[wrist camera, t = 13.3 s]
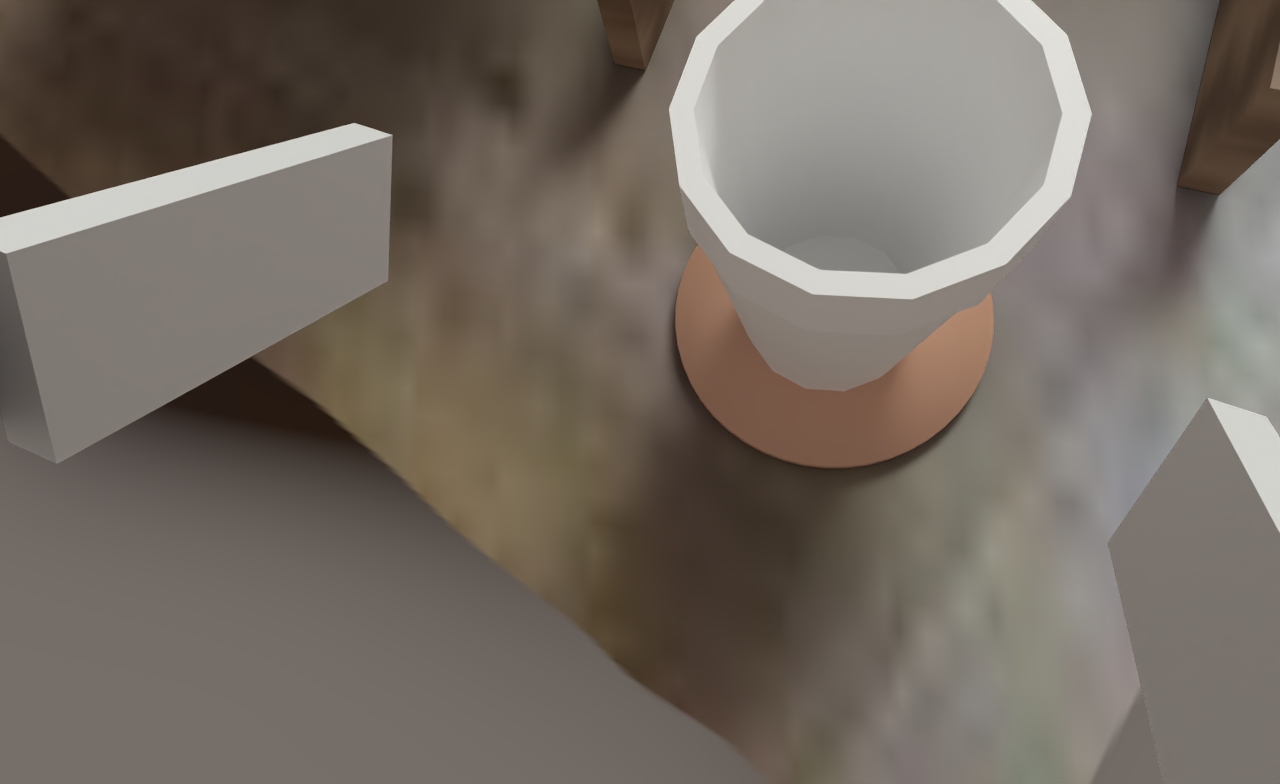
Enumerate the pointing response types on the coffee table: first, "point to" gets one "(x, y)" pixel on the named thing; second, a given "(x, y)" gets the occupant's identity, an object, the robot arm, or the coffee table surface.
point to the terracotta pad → (823, 419)
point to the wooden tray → (1225, 109)
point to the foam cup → (871, 167)
